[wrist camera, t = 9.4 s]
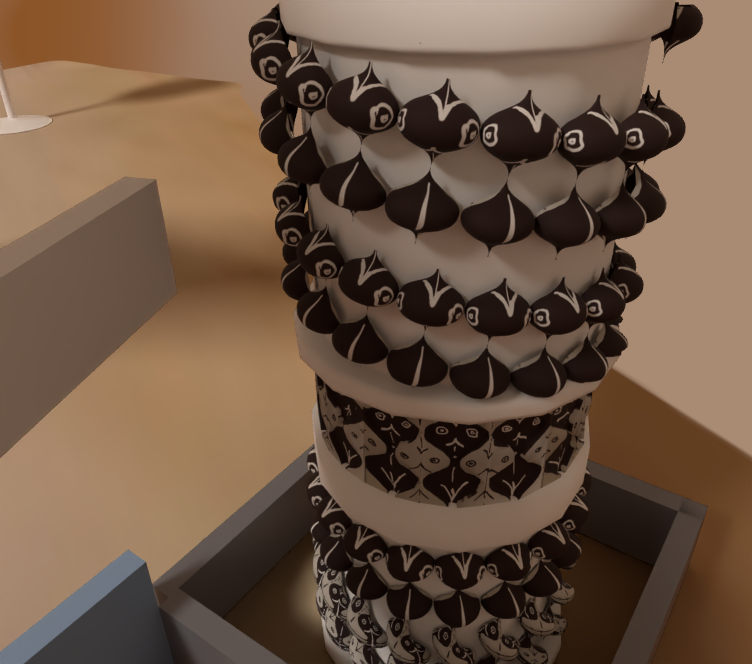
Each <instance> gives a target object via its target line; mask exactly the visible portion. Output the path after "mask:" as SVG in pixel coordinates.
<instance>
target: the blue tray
mask: <svg viewBox="0 0 752 664" xmlns="http://www.w3.org/2000/svg"><path fill="white" fill-rule="evenodd" d="M0 664H174V661H173V657H172V654H171V650H170V647H169V643H168V639H167V636H166V632H165V629H164V625H163V621H162V618H161V614H160V611H159V607H158V604H157V600H156V596H155V593H154V589H153V586H152V582H151V578H150V575H149V571H148V568H147V564H146V562H145V561H144V560H142V559H141V558H139V557H138V556H137V555H135V554H134V553H132V552H131V551H129V550H127V551H126V552H125V553H123V554H122V555H121V556H120V557H118V558H117V559H116V560H115V561H113V562H112V563H111V564H110V565H108V566H107V567H106V568H105V569H103V570H102V571H101V572H100V573H98V574H97V575H96V576H95V577H93V578H92V579H91V580H90V581H88V582H87V583H86V584H85V585H83V586H82V587H81V588H80V589H78V590H77V591H76V592H75V593H73V594H72V595H71V596H70V597H68V598H67V599H66V600H65V601H63V602H62V603H61V604H60V605H58V606H57V607H56V608H55V609H53V610H52V611H51V612H50V613H48V614H47V615H46V616H45V617H43V618H42V619H41V620H40V621H38V622H37V623H36V624H35V625H33V626H32V627H31V628H30V629H28V630H27V631H26V632H25V633H23V634H22V635H21V636H20V637H18V638H17V639H16V640H15V641H13V642H12V643H11V644H10V645H8V646H7V647H6V648H5V649H3V650H2V651H1V652H0Z"/></svg>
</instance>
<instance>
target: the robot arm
mask: <svg viewBox="0 0 752 664" xmlns="http://www.w3.org/2000/svg"><path fill="white" fill-rule="evenodd" d="M175 294H177V288H176V283H175V278H174V272H173V267H172V262H171V256H170V251H169V246H168V240H167V235H166V230H165V224H164V219H163V214H162V208H161V203H160V198H159V192H158V187H157V182H156V179H145V178H133V177H123V178H122V179H120V180H118V181H117V182H115V183H113V184H111V185H110V186H108V187H106V188H105V189H103V190H101V191H99V192H98V193H96V194H94V195H93V196H91V197H89V198H87V199H86V200H84V201H82V202H81V203H79V204H77V205H75V206H74V207H72V208H70V209H69V210H67V211H65V212H64V213H62V214H60V215H58V216H57V217H55V218H53V219H52V220H50V221H48V222H46V223H45V224H43V225H41V226H40V227H38V228H36V229H34V230H33V231H31V232H29V233H28V234H26V235H24V236H22V237H21V238H19V239H17V240H16V241H14V242H12V243H10V244H9V245H7V246H5V247H4V248H2V249H0V458H1V457H2V456H3V455H4V454H5V453H6V452H7V451H8V450H9V449H11V448H12V447H13V446H14V445H15V444H16V443H17V442H18V441H19V440H20V439H21V438H22V437H23V436H24V435H26V434H27V433H28V432H29V431H30V430H31V429H32V428H33V427H34V426H35V425H36V424H37V423H38V422H39V421H41V420H42V419H43V418H44V417H45V416H46V415H47V414H48V413H49V412H50V411H51V410H52V409H53V408H54V407H56V406H57V405H58V404H59V403H60V402H61V401H62V400H63V399H64V398H65V397H66V396H67V395H68V394H69V393H71V392H72V391H73V390H74V389H75V388H76V387H77V386H78V385H79V384H80V383H81V382H82V381H83V380H84V379H86V378H87V377H88V376H89V375H90V374H91V373H92V372H93V371H94V370H95V369H96V368H97V367H98V366H99V365H101V364H102V363H103V362H104V361H105V360H106V359H107V358H108V357H109V356H110V355H111V354H112V353H113V352H114V351H116V350H117V349H118V348H119V347H120V346H121V345H122V344H123V343H124V342H125V341H126V340H127V339H128V338H129V337H130V336H132V335H133V334H134V333H135V332H136V331H137V330H138V329H139V328H140V327H141V326H142V325H143V324H144V323H145V322H147V321H148V320H149V319H150V318H151V317H152V316H153V315H154V314H155V313H156V312H157V311H158V310H159V309H160V308H162V307H163V306H164V305H165V304H166V303H167V302H168V301H169V300H170V299H171V298H172V297H173V296H174V295H175Z"/></svg>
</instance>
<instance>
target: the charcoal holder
mask: <svg viewBox="0 0 752 664" xmlns="http://www.w3.org/2000/svg"><path fill="white" fill-rule="evenodd" d="M314 446H315V444H313V445H312V446H311V447H310V448H309V449H308V450H306V451H305V452H304V453H303V454H302V455H301V456H299V457H298V458H297V459H296V460H295V461H294V462H293V463H291V464H290V465H289V466H288V467H287V468H286V469H284V470H283V471H282V472H281V473H280V474H279V475H278V476H276V477H275V478H274V479H273V480H272V481H271V482H269V483H268V484H267V485H266V486H265V487H264V488H263V489H261V490H260V491H259V492H258V493H257V494H256V495H255V496H253V497H252V498H251V499H250V500H249V501H248V502H246V503H245V504H244V505H243V506H242V507H241V508H240V509H238V510H237V511H236V512H235V513H234V514H233V515H231V516H230V517H229V518H228V519H227V520H226V521H225V522H223V523H222V524H221V525H220V526H219V527H218V528H216V529H215V530H214V531H213V532H212V533H211V534H210V535H208V536H207V537H206V538H205V539H204V540H203V541H201V542H200V543H199V544H198V545H197V546H196V547H195V548H193V549H192V550H191V551H190V552H189V553H188V554H187V555H185V556H184V557H183V558H182V559H181V560H180V561H178V562H177V563H176V564H175V565H174V566H173V567H172V568H170V569H169V570H168V571H167V572H166V573H165V574H163V575H162V576H161V577H160V578H159V579H158V580H157V581H155V582H154V583H153V584H152V586H153V589H154V593H155V596H156V600H157V604H158V607H159V611H160V614H161V618H162V621H163V625H164V629H165V632H166V636H167V639H168V643H169V647H170V650H171V654H172V657H173V661H174V664H287V663H286V662H284V661H283V660H281V659H280V658H279V657H277V656H276V655H274V654H273V653H271V652H270V651H268V650H267V649H266V648H264V647H263V646H261V645H260V644H258V643H257V642H256V641H254V640H253V639H251V638H250V637H248V636H247V635H245V634H244V633H243V632H241V631H240V630H238V629H237V628H235V627H234V626H232V625H231V624H230V623H228V622H227V621H225V620H224V619H222V618H223V617H224V616H225V615H226V614H227V613H228V612H229V611H230V610H231V609H232V608H233V607H234V606H235V605H236V604H237V603H238V602H239V601H240V600H241V599H242V598H243V597H244V596H245V595H246V594H247V593H248V592H249V591H250V590H251V589H252V588H253V587H254V586H255V585H256V584H257V583H258V582H259V581H260V580H261V579H262V578H263V577H264V576H265V575H266V574H267V573H268V572H269V571H270V570H271V569H272V568H273V567H274V566H275V565H276V564H277V563H278V562H279V561H280V560H281V559H282V558H283V557H284V556H285V555H286V554H287V553H288V552H289V551H290V550H291V549H292V548H293V547H294V546H295V545H296V544H297V543H298V542H299V541H300V540H301V539H302V538H303V537H304V536H305V535H306V534H307V533H308V532H309V531H310V524H311V520H312V518H313V516H314V514H315V513H316V509H315V508H314V507H313V506H312V504H311V502H310V500H309V499H308V496H307V491H306V488H307V482H308V480H309V478H310V477H311V476H312V475H313V473H311V472H310V470H309V469H308V467H307V456H308V454H309V452H310V450H311V449H312V448H313V447H314ZM586 467H587V468H588V470H589V471H590V474H591V477H592V484H591V488H590V490H589V492H588V493H587V494H586V495H585V496H583V497H584V498H585V499H586V500H587V501H588V503H589V506H590V514H589V517H588V519H587V521H586V522H585V524H583V525H582V527H581V529H580V530H579V531H578V532H579V533H581V534H583V535H586V536H588V537H590V538H592V539H595V540H597V541H599V542H601V543H603V544H606V545H608V546H610V547H612V548H615V549H617V550H619V551H621V552H624V553H626V554H628V555H630V556H633V557H635V558H637V559H639V560H641V561H644V562H646V563H648V564H650V565H653V566H654V568H653V570H652V573H651V575H650V577H649V579H648V582H647V584H646V586H645V589H644V591H643V593H642V595H641V598H640V600H639V602H638V605H637V607H636V609H635V612H634V614H633V616H632V618H631V621H630V623H629V625H628V628H627V630H626V632H625V634H624V637H623V639H622V641H621V644H620V646H619V648H618V651H617V653H616V655H615V657H614V660H613V662H612V664H651V662H652V659H653V657H654V654H655V652H656V649H657V646H658V644H659V641H660V639H661V636H662V634H663V631H664V628H665V626H666V623H667V621H668V618H669V615H670V613H671V610H672V608H673V605H674V602H675V600H676V597H677V595H678V592H679V589H680V587H681V584H682V582H683V579H684V576H685V574H686V571H687V569H688V566H689V563H690V560H691V557H692V554H693V551H694V548H695V545H696V542H697V539H698V536H699V533H700V530H701V527H702V524H703V520H704V517H705V514H706V511H707V508H708V506H705V505H702V504H700V503H697V502H695V501H692V500H690V499H687V498H685V497H682V496H679V495H677V494H674V493H672V492H669V491H667V490H664V489H662V488H659V487H656V486H654V485H651V484H649V483H646V482H644V481H641V480H639V479H636V478H633V477H631V476H628V475H626V474H623V473H621V472H618V471H616V470H613V469H610V468H608V467H605V466H603V465H600V464H598V463H595V462H593V461H590V460H587V465H586Z"/></svg>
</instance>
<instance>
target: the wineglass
mask: <svg viewBox="0 0 752 664" xmlns="http://www.w3.org/2000/svg"><path fill="white" fill-rule="evenodd" d="M0 91H1V95H2V98H3V101H4V105H5V108H6V112H7V115H8V117H4V118H0V134H10V133H19V132H24V131H30V130H34V129H38V128H41V127H44V126H46V125H48V124H49V123H51V122H52V119H51V118H49V117H46V116H41V115H20V116H16V115H15V111H14V108H13V104H12V101H11V97H10V94H9V90H8V87H7V83H6V80H5V76H4V73H3V69H2V66H1V62H0Z"/></svg>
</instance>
